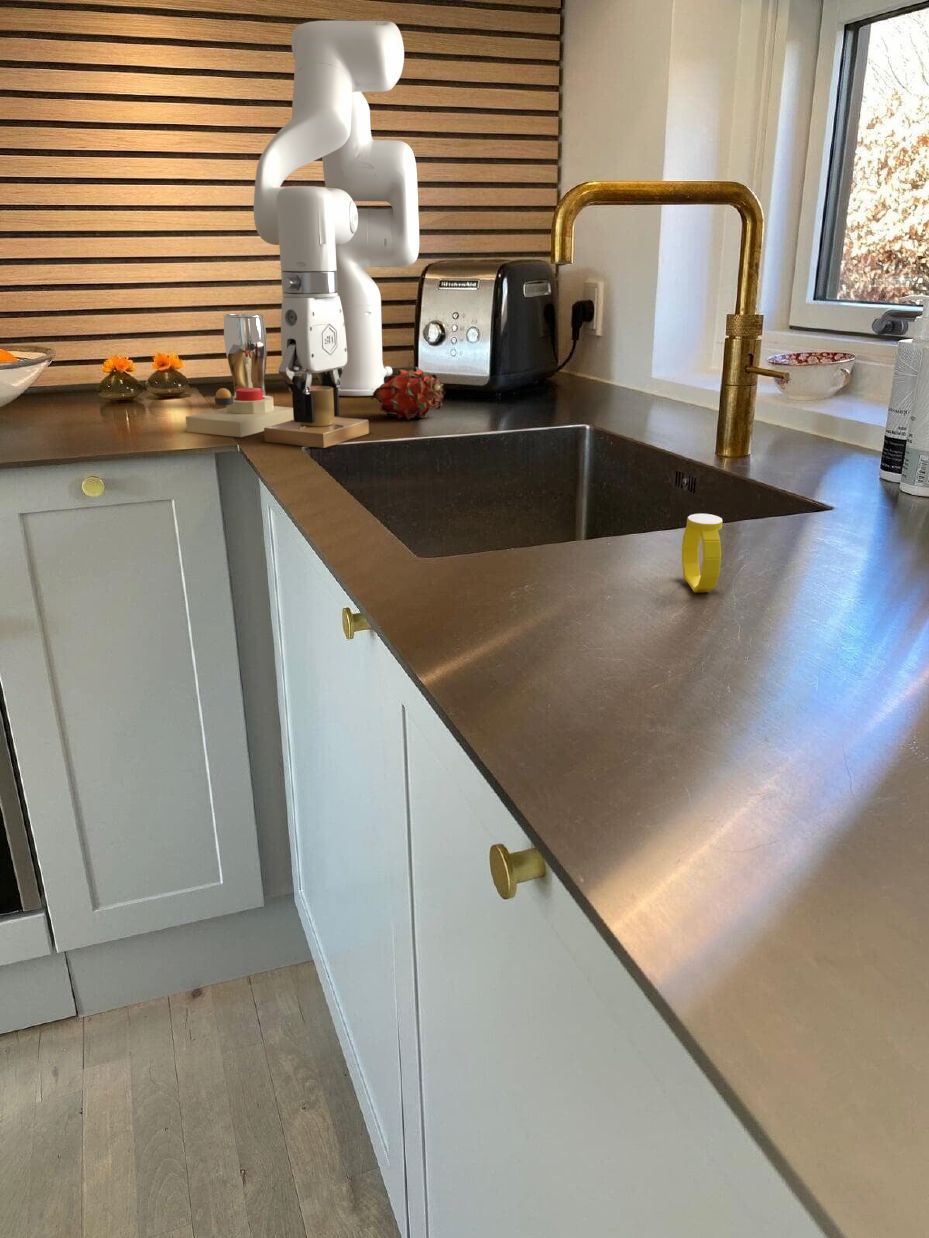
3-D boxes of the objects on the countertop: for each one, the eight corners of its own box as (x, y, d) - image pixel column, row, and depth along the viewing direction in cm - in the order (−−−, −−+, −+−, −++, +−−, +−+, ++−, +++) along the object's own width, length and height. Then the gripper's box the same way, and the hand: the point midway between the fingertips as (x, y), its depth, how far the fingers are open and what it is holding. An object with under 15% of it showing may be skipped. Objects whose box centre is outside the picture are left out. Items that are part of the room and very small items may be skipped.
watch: (670, 575, 81) (677, 508, 78) (702, 574, 81) (709, 507, 79) (691, 600, 75) (698, 528, 73) (725, 599, 75) (733, 527, 73)
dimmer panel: (312, 427, 143) (312, 413, 143) (369, 433, 139) (368, 418, 139) (264, 441, 133) (263, 426, 133) (323, 448, 129) (323, 432, 129)
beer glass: (276, 403, 165) (270, 313, 159) (264, 409, 158) (257, 316, 153) (237, 402, 165) (230, 313, 160) (224, 409, 159) (216, 316, 153)
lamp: (223, 402, 141) (221, 386, 140) (236, 403, 140) (235, 387, 139) (211, 404, 139) (210, 388, 138) (225, 406, 138) (224, 390, 137)
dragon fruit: (451, 428, 152) (378, 439, 152) (444, 390, 156) (373, 402, 156) (447, 390, 145) (370, 402, 144) (439, 351, 149) (365, 363, 149)
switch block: (246, 417, 152) (244, 392, 150) (297, 422, 148) (295, 396, 146) (187, 431, 140) (184, 404, 139) (240, 437, 136) (238, 409, 135)
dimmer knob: (312, 419, 139) (310, 382, 137) (341, 422, 137) (339, 384, 135) (292, 424, 134) (290, 387, 133) (322, 427, 132) (320, 389, 130)
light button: (247, 398, 147) (246, 387, 146) (268, 400, 145) (267, 388, 145) (231, 402, 144) (230, 390, 143) (252, 404, 142) (251, 392, 141)
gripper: (295, 289, 120) (304, 431, 127) (366, 284, 134) (370, 411, 141) (248, 287, 123) (259, 426, 130) (322, 282, 137) (328, 408, 144)
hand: (317, 417), depth 135 cm, fingers open, 5 cm apart
